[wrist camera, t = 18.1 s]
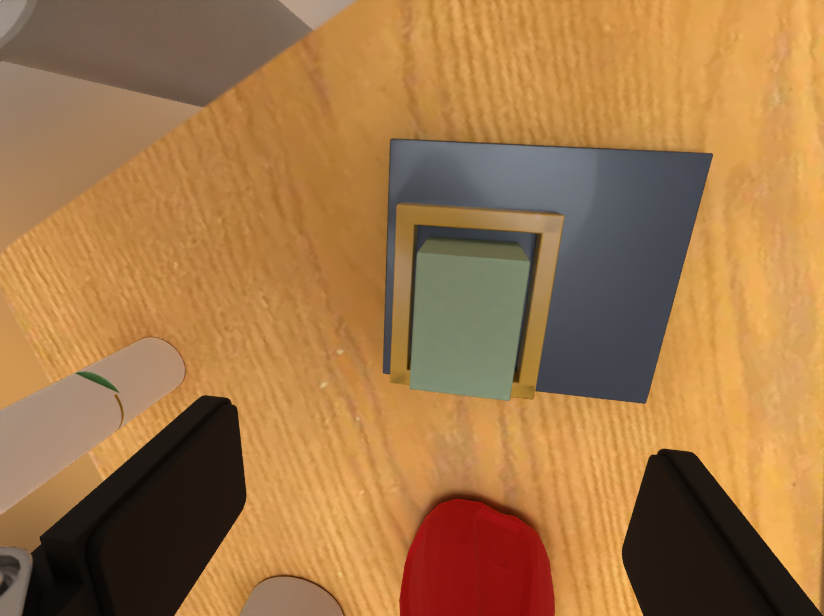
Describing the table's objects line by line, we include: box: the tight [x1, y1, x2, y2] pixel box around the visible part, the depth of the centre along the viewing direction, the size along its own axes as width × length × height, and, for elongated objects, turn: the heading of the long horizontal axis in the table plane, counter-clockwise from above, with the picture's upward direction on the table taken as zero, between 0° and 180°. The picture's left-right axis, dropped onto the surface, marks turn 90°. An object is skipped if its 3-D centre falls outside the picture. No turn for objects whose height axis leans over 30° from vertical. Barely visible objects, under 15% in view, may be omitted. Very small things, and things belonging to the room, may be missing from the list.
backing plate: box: [383, 139, 713, 404], centre depth 23 cm, size 16×14×3 cm
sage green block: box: [410, 236, 530, 401], centre depth 22 cm, size 7×5×5 cm
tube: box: [0, 337, 185, 515], centre depth 23 cm, size 4×4×15 cm
